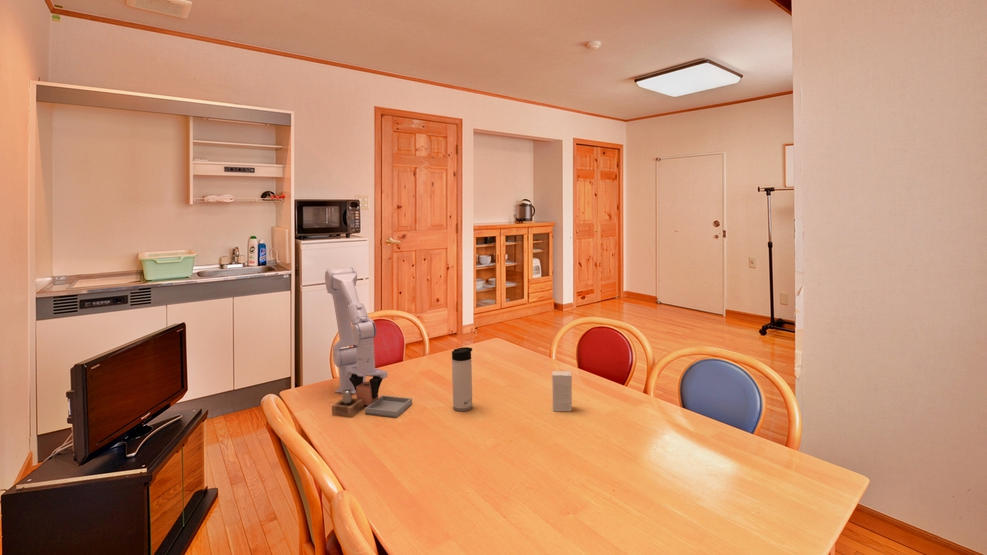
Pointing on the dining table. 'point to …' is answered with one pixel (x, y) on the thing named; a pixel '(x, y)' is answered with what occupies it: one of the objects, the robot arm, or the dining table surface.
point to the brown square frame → (347, 408)
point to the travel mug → (462, 379)
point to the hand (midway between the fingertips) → (367, 396)
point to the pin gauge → (347, 397)
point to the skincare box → (562, 390)
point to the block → (365, 393)
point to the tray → (388, 406)
